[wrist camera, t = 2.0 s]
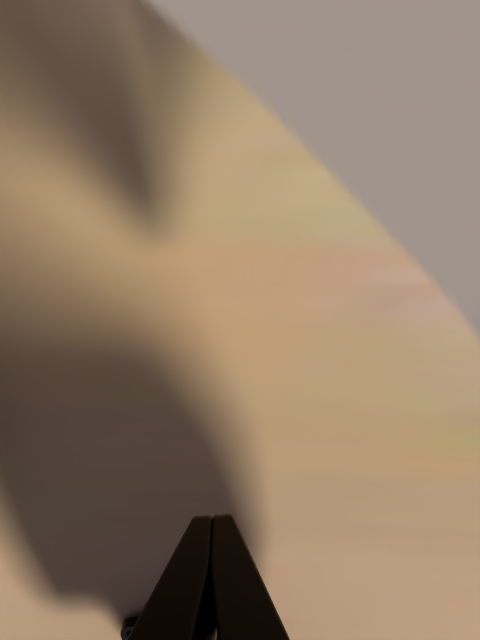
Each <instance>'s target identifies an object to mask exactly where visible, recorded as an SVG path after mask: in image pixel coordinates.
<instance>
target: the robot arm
mask: <svg viewBox="0 0 480 640" xmlns="http://www.w3.org/2000/svg"><path fill="white" fill-rule="evenodd" d="M121 637H122V640H290V639H289V637H288V634H287V632H286V630H285V628H284V626H283V624H282V621H281V619H280V617H279V615H278V613H277V611H276V608H275V606H274V604H273V602H272V600H271V597H270V595H269V593H268V591H267V589H266V587H265V584H264V582H263V580H262V578H261V576H260V574H259V571H258V569H257V567H256V565H255V563H254V561H253V558H252V556H251V554H250V552H249V550H248V547H247V545H246V543H245V541H244V539H243V537H242V534H241V532H240V530H239V528H238V526H237V524H236V521H235V519H234V517H233V516H232V515H231V514H221V515H215V516H214V517H212V516H210V515H207V516H196V517H194V518H193V519H192V520H191V522H190V524H189V526H188V528H187V529H186V531H185V533H184V535H183V537H182V539H181V540H180V542H179V544H178V546H177V548H176V550H175V552H174V553H173V555H172V557H171V559H170V561H169V563H168V564H167V566H166V568H165V570H164V572H163V574H162V575H161V577H160V579H159V581H158V583H157V585H156V587H155V588H154V590H153V592H152V594H151V596H150V598H149V599H148V601H147V603H146V605H145V607H144V609H143V611H142V612H141V614H140V616H139V617H131V618H127V619H125V620H124V621H123V624H122V629H121Z"/></svg>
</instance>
